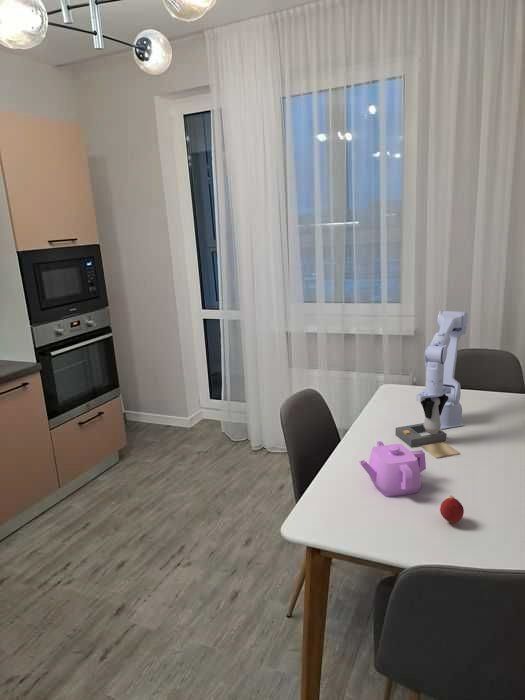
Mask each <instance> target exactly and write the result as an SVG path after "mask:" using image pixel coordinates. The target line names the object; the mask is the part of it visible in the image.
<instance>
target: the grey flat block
mask: <svg viewBox="0 0 525 700" xmlns="http://www.w3.org/2000/svg"><path fill="white" fill-rule="evenodd" d="M421 433H427V432H426V430H425V428H424V422H421V423H416V424H411V425H405V426H398V427H395V436H396V437H397V438H398V439H400V440H401V441H402V442H403V443H405V444H406V445H407V446H408V447H410V448H417V447H422V446H424V445H430V444H435V443H441V442H445V441H446V442H447V433H446V432H445V431H443V429H439V431H438V433H436V434H426V435H425V434H424V435H421ZM446 442H445V443H446Z"/></svg>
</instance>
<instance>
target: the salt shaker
mask: <svg viewBox="0 0 525 700" xmlns="http://www.w3.org/2000/svg"><path fill="white" fill-rule="evenodd" d="M431 401H434V402H435V403H434V406H433V409H432V417H431V419H429V418H426V417H424V421H423V423H424V428H425V430H426V432H425V433H427V434H428V435H430V434H436V433H438V431H439V429H440V428H441V423H440V415H439V408H438V405H439V404H440V399H439V398H438V397H433V398H431ZM440 430H441V429H440Z"/></svg>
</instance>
